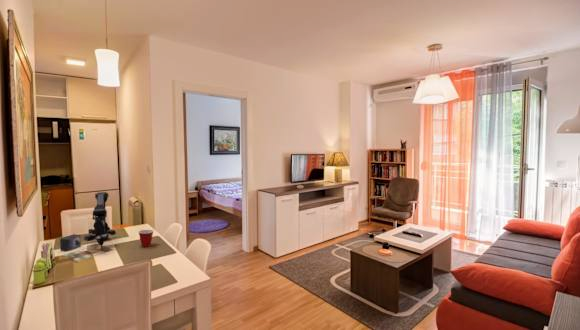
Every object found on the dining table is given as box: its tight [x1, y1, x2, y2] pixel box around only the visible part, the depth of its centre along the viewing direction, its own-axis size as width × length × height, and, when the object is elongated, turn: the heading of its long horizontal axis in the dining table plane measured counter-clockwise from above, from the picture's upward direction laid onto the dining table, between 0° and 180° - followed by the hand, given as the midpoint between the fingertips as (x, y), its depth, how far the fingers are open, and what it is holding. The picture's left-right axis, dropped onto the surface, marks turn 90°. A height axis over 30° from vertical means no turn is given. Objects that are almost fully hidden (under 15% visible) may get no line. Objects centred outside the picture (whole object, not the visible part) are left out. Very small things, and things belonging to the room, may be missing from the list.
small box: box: [59, 233, 82, 252], centre depth 203 cm, size 11×6×10 cm, turn 168°
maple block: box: [86, 242, 101, 254], centre depth 199 cm, size 6×6×4 cm
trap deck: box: [63, 245, 115, 264], centre depth 196 cm, size 23×20×3 cm
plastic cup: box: [138, 229, 155, 248], centre depth 213 cm, size 11×11×12 cm
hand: (100, 246), depth 203 cm, fingers closed
